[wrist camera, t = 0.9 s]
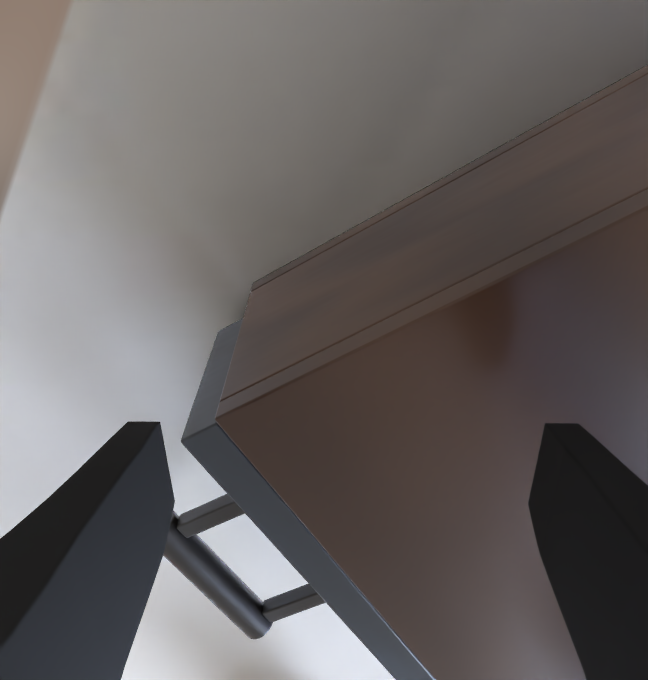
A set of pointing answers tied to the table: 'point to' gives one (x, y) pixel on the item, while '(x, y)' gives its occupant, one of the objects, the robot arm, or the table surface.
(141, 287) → the table surface
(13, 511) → the table surface
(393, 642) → the drawer
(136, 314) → the table surface
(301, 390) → the cabinet
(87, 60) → the table surface
